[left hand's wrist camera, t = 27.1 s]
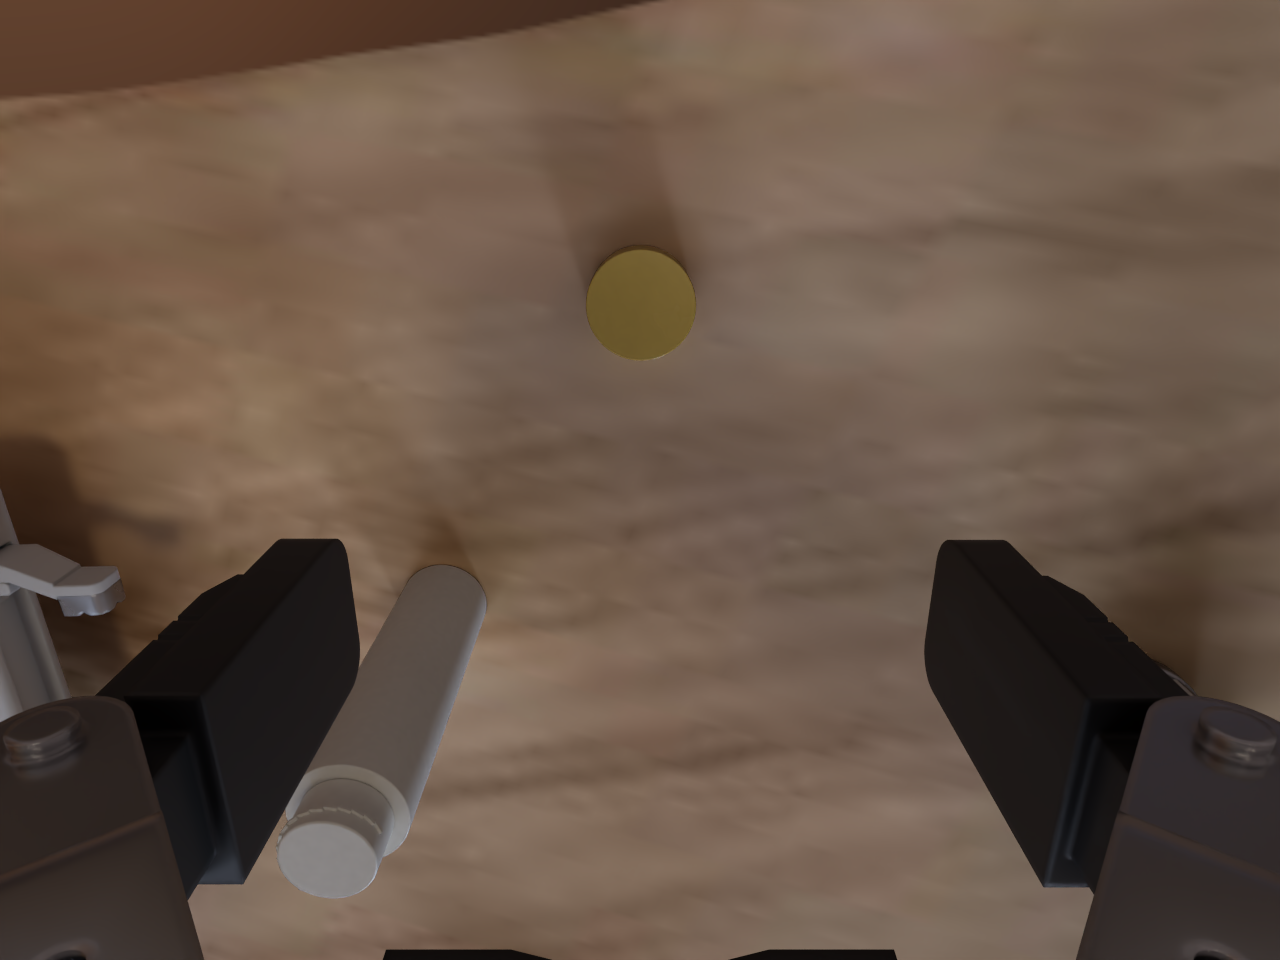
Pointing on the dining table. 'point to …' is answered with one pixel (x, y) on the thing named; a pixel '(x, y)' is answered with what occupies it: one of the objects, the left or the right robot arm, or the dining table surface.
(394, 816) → the white tall cylinder
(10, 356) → the dining table surface
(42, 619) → the right robot arm
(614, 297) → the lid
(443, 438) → the dining table surface
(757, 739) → the dining table surface
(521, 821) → the dining table surface
